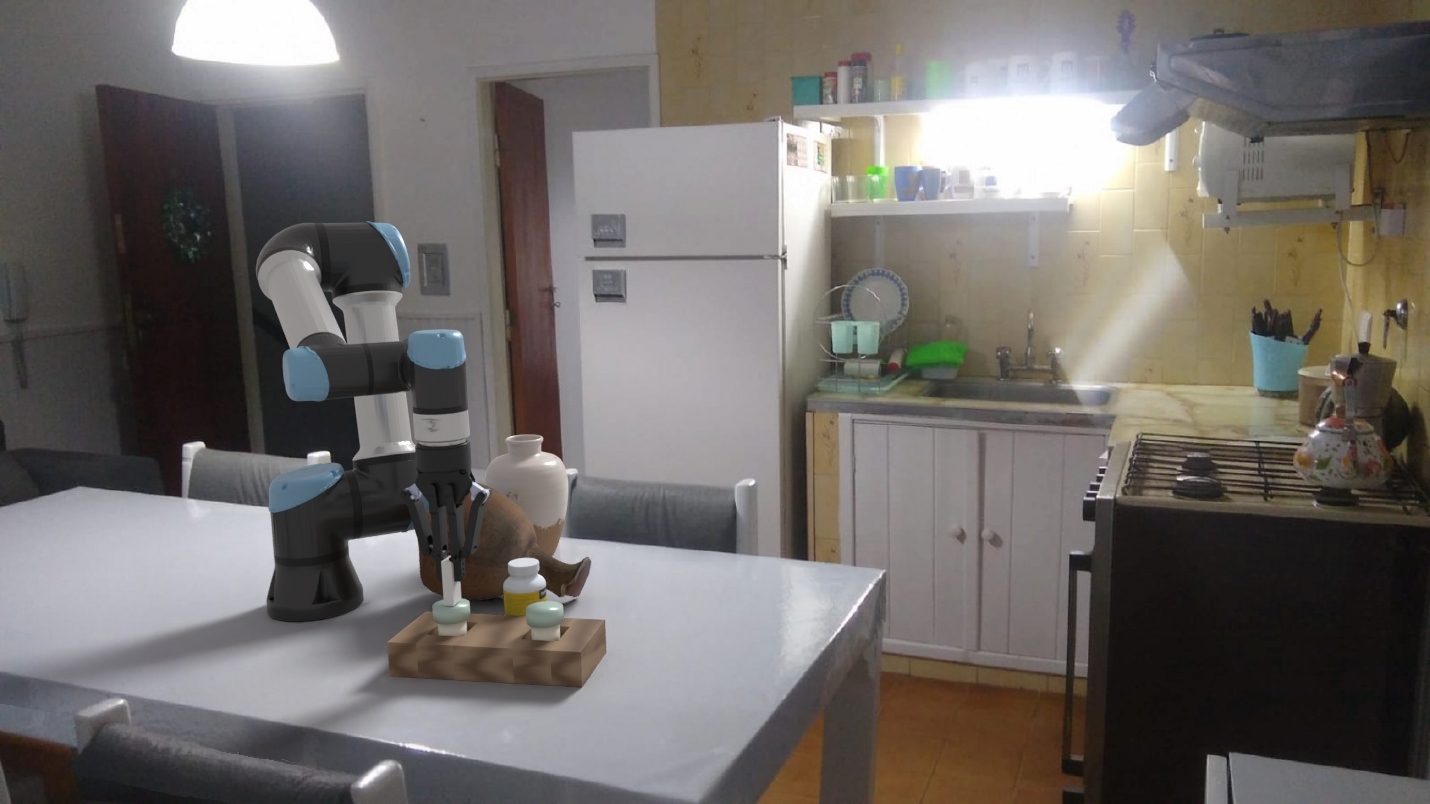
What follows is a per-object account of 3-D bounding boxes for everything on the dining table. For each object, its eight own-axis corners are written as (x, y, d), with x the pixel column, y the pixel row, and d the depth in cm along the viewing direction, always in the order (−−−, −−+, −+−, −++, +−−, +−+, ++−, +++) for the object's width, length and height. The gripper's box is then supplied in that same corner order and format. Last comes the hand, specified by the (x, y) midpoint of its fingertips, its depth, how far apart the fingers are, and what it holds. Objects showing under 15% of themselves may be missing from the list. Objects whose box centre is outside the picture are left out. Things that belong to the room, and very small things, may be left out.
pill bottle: (539, 644, 156) (535, 570, 154) (498, 642, 157) (494, 568, 155) (554, 628, 162) (551, 556, 160) (515, 626, 164) (511, 554, 162)
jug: (392, 606, 174) (557, 656, 167) (381, 515, 163) (556, 564, 157) (454, 534, 190) (606, 577, 184) (448, 446, 180) (608, 489, 173)
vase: (563, 538, 211) (558, 427, 207) (578, 560, 196) (573, 441, 192) (483, 546, 206) (477, 433, 202) (493, 570, 191) (486, 448, 188)
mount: (389, 676, 146) (387, 642, 145) (427, 643, 157) (425, 611, 157) (582, 687, 141) (580, 652, 140) (606, 652, 152) (605, 619, 152)
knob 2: (523, 667, 146) (520, 613, 144) (535, 653, 151) (533, 600, 149) (558, 669, 145) (556, 614, 143) (570, 655, 150) (567, 601, 149)
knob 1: (429, 663, 148) (425, 610, 147) (445, 649, 153) (441, 597, 152) (464, 665, 147) (460, 611, 146) (478, 651, 152) (475, 598, 151)
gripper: (386, 445, 143) (398, 609, 146) (476, 446, 141) (486, 613, 144) (410, 435, 150) (421, 592, 154) (496, 436, 148) (505, 595, 152)
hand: (452, 602), depth 149 cm, fingers closed
